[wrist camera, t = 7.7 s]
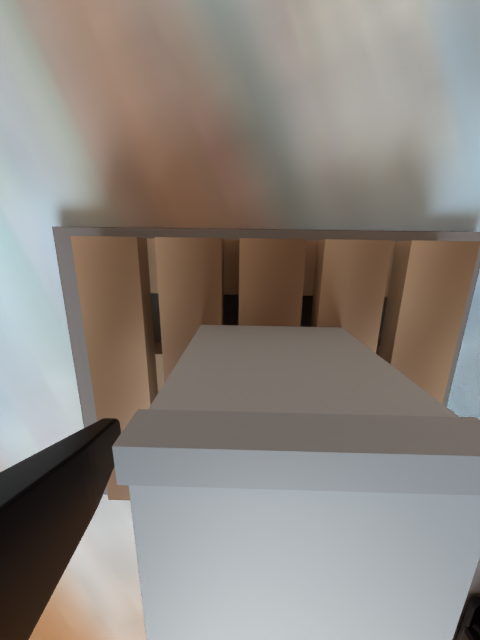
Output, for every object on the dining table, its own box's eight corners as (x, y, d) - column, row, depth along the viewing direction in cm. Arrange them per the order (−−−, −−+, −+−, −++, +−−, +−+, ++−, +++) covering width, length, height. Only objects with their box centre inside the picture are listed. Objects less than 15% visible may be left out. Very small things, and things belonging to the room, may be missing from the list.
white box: (344, 324, 9) (532, 458, 3) (329, 448, 10) (442, 708, 4) (198, 321, 9) (111, 446, 3) (201, 445, 10) (144, 695, 5)
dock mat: (475, 233, 11) (488, 231, 10) (415, 493, 15) (422, 503, 14) (61, 227, 11) (52, 226, 11) (100, 484, 15) (95, 493, 14)
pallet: (436, 244, 11) (490, 241, 8) (393, 464, 13) (424, 508, 11) (101, 239, 11) (61, 236, 8) (126, 457, 14) (101, 499, 11)
